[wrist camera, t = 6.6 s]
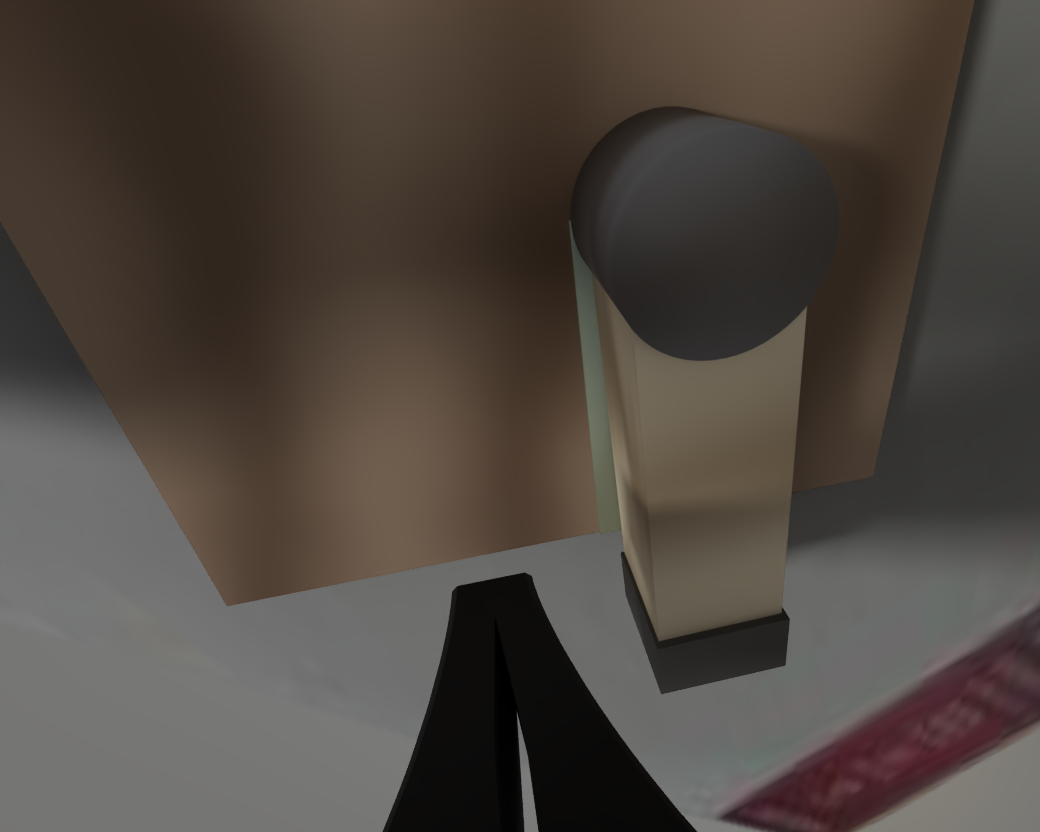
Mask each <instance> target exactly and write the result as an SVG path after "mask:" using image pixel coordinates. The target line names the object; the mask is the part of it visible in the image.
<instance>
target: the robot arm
mask: <svg viewBox="0 0 1040 832" xmlns="http://www.w3.org/2000/svg"><path fill="white" fill-rule="evenodd" d="M517 713H518V717H519V721H520V725H521V730H522V734H523V738H524V742H525V746H526V750H527V754H528V760H529V767H530V774H531V781H532V788H533V795H534V802H535V809H536V816H537V824H538V831H539V832H697V831H696V830H695V829H694V828H693V827H692V825H691V824H690V823H689V822H688V821H687V820H686V819H685V817H684V816H683V815H682V814H681V813H680V812H679V811H678V809H677V808H676V807H675V806H674V805H673V803H672V802H671V801H670V800H669V798H668V797H667V796H666V795H665V793H664V792H663V791H662V790H661V789H660V787H659V786H658V785H657V784H656V782H655V781H654V780H653V779H652V777H651V776H650V775H649V774H648V772H647V771H646V770H645V768H644V767H643V766H642V765H641V763H640V762H639V761H638V759H637V758H636V757H635V755H634V754H633V753H632V752H631V750H630V749H629V747H628V746H627V745H626V743H625V742H624V741H623V739H622V738H621V737H620V735H619V734H618V732H617V731H616V730H615V728H614V727H613V725H612V724H611V723H610V721H609V720H608V718H607V717H606V715H605V714H604V712H603V711H602V709H601V708H600V706H599V705H598V703H597V702H596V700H595V699H594V697H593V696H592V694H591V693H590V691H589V690H588V688H587V687H586V685H585V683H584V682H583V680H582V679H581V677H580V675H579V674H578V672H577V670H576V668H575V667H574V665H573V663H572V662H571V660H570V658H569V657H568V655H567V653H566V652H565V650H564V648H563V646H562V645H561V643H560V641H559V639H558V637H557V635H556V633H555V631H554V629H553V627H552V625H551V623H550V621H549V619H548V617H547V615H546V613H545V611H544V609H543V607H542V604H541V602H540V599H539V597H538V594H537V591H536V589H535V586H534V583H533V579H532V576H531V575H529V574H527V573H520V574H515V575H510V576H505V577H500V578H495V579H490V580H485V581H480V582H475V583H470V584H465V585H460V586H457V587H456V588H455V589H454V590H453V591H452V599H451V609H450V615H449V622H448V627H447V632H446V638H445V642H444V647H443V651H442V656H441V660H440V664H439V668H438V671H437V675H436V679H435V683H434V686H433V690H432V694H431V697H430V701H429V704H428V708H427V711H426V714H425V717H424V720H423V723H422V727H421V730H420V733H419V736H418V739H417V742H416V745H415V748H414V751H413V754H412V757H411V760H410V763H409V765H408V768H407V771H406V774H405V776H404V779H403V782H402V784H401V787H400V790H399V792H398V795H397V798H396V800H395V803H394V805H393V807H392V810H391V812H390V815H389V817H388V820H387V822H386V825H385V827H384V830H383V832H524V817H523V801H522V785H521V770H520V754H519V739H518V724H517Z"/></svg>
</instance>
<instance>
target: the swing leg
mask: <svg viewBox="0 0 1040 832" xmlns="http://www.w3.org/2000/svg"><path fill="white" fill-rule="evenodd" d="M571 227H572V232H573V237H574V241H575V243H576V246H577V249H578V251H579V253H580V255H581V257H582V259H583V260H584V262H585V263H586V265H587V266H588V267H589V269H590V270H591V272H592V278H593V287H594V295H595V304H596V313H597V321H598V330H599V338H600V347H601V356H602V364H603V373H604V381H605V390H606V399H607V407H608V416H609V424H610V433H611V442H612V450H613V459H614V467H615V476H616V485H617V493H618V502H619V510H620V519H621V528H622V536H623V545H624V552H621V558H622V567H623V575H624V583H625V592H626V597H627V600H628V603H629V606H630V608H631V611H632V614H633V617H634V620H635V622H636V625H637V628H638V631H639V633H640V636H641V639H642V642H643V645H644V647H645V650H646V653H647V656H648V658H649V661H650V664H651V667H652V670H653V672H654V675H655V678H656V681H657V684H658V686H659V689H660V692H661V694H664V693H669V692H673V691H677V690H682V689H686V688H690V687H695V686H699V685H703V684H708V683H712V682H716V681H721V680H725V679H729V678H734V677H738V676H742V675H747V674H751V673H755V672H760V671H764V670H768V669H773V668H777V667H781V666H785V664H786V653H787V643H788V632H789V622H790V619H789V617H788V615H787V614H786V612H785V611H784V609H783V607H782V601H783V589H784V577H785V565H786V553H787V541H788V529H789V517H790V505H791V493H792V481H793V469H794V457H795V445H796V433H797V421H798V409H799V397H800V385H801V373H802V361H803V349H804V337H805V325H806V313H807V305H808V304H809V303H810V301H811V300H812V298H813V297H814V296H815V294H816V293H817V291H818V290H819V288H820V286H821V284H822V282H823V280H824V279H825V277H826V275H827V272H828V270H829V267H830V265H831V263H832V260H833V256H834V253H835V249H836V245H837V239H838V233H839V209H838V201H837V197H836V192H835V188H834V186H833V184H832V181H831V179H830V176H829V174H828V173H827V171H826V169H825V168H824V166H823V165H822V163H821V162H820V161H819V160H818V159H817V157H816V156H815V155H814V154H813V153H812V152H811V151H810V150H808V149H807V148H806V147H805V146H803V145H802V144H801V143H799V142H797V141H795V140H793V139H791V138H789V137H787V136H784V135H781V134H778V133H775V132H772V131H768V130H765V129H761V128H758V127H754V126H751V125H748V124H744V123H741V122H737V121H734V120H730V119H727V118H723V117H720V116H716V115H713V114H709V113H706V112H702V111H699V110H695V109H692V108H686V107H680V106H666V107H659V108H653V109H650V110H646V111H643V112H640V113H638V114H636V115H633V116H631V117H629V118H628V119H626V120H624V121H623V122H621V123H619V124H618V125H617V126H615V127H614V128H613V129H612V130H610V131H609V132H608V133H607V134H606V135H605V136H604V137H603V138H602V139H601V140H600V141H599V142H598V143H597V145H596V146H595V147H594V149H593V150H592V151H591V152H590V154H589V156H588V157H587V159H586V161H585V162H584V164H583V166H582V168H581V170H580V173H579V175H578V177H577V180H576V183H575V187H574V190H573V196H572V201H571Z"/></svg>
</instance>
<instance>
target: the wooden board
mask: <svg viewBox="0 0 1040 832" xmlns="http://www.w3.org/2000/svg"><path fill="white" fill-rule="evenodd" d="M974 2H975V0H0V223H1V224H2V226H3V228H4V229H5V231H6V233H7V234H8V236H9V238H10V240H11V241H12V243H13V245H14V246H15V248H16V250H17V251H18V253H19V255H20V256H21V258H22V260H23V262H24V263H25V265H26V267H27V268H28V270H29V272H30V273H31V275H32V277H33V278H34V280H35V282H36V284H37V285H38V287H39V289H40V290H41V292H42V294H43V295H44V297H45V299H46V300H47V302H48V304H49V306H50V307H51V309H52V311H53V312H54V314H55V316H56V317H57V319H58V321H59V322H60V324H61V326H62V328H63V329H64V331H65V333H66V334H67V336H68V338H69V339H70V341H71V343H72V344H73V346H74V348H75V350H76V351H77V353H78V355H79V356H80V358H81V360H82V361H83V363H84V365H85V366H86V368H87V370H88V372H89V373H90V375H91V377H92V378H93V380H94V382H95V383H96V385H97V387H98V388H99V390H100V392H101V394H102V395H103V397H104V399H105V400H106V402H107V404H108V405H109V407H110V409H111V410H112V412H113V414H114V416H115V417H116V419H117V421H118V422H119V424H120V426H121V427H122V429H123V431H124V432H125V434H126V436H127V438H128V439H129V441H130V443H131V444H132V446H133V448H134V449H135V451H136V453H137V454H138V456H139V458H140V459H141V461H142V463H143V465H144V466H145V468H146V470H147V471H148V473H149V475H150V476H151V478H152V480H153V481H154V483H155V485H156V487H157V488H158V490H159V492H160V493H161V495H162V497H163V498H164V500H165V502H166V503H167V505H168V507H169V509H170V510H171V512H172V514H173V515H174V517H175V519H176V520H177V522H178V524H179V525H180V527H181V529H182V531H183V532H184V534H185V536H186V537H187V539H188V541H189V542H190V544H191V546H192V547H193V549H194V551H195V553H196V554H197V556H198V558H199V559H200V561H201V563H202V564H203V566H204V568H205V569H206V571H207V573H208V575H209V576H210V578H211V580H212V581H213V583H214V585H215V586H216V588H217V590H218V591H219V593H220V595H221V597H222V598H223V600H224V602H225V603H226V605H227V606H230V605H235V604H240V603H245V602H250V601H255V600H260V599H265V598H270V597H275V596H280V595H285V594H290V593H295V592H300V591H305V590H310V589H315V588H320V587H325V586H330V585H335V584H340V583H345V582H350V581H355V580H360V579H365V578H370V577H375V576H380V575H385V574H390V573H395V572H400V571H405V570H410V569H415V568H420V567H425V566H430V565H435V564H440V563H445V562H450V561H455V560H460V559H465V558H470V557H475V556H480V555H485V554H490V553H495V552H500V551H505V550H510V549H515V548H520V547H525V546H530V545H535V544H540V543H545V542H550V541H555V540H560V539H565V538H570V537H575V536H580V535H585V534H590V533H595V532H600V534H603V533H608V532H613V531H618V530H622V528H621V519H620V510H619V502H618V493H617V485H616V476H615V467H614V459H613V450H612V442H611V433H610V424H609V416H608V407H607V399H606V390H605V381H604V373H603V364H602V356H601V347H600V338H599V330H598V321H597V313H596V304H595V295H594V287H593V278H592V272H591V270H590V269H589V267H588V266H587V265H586V263H585V262H584V260H583V259H582V257H581V255H580V253H579V251H578V249H577V246H576V243H575V241H574V237H573V232H572V227H571V201H572V196H573V190H574V187H575V183H576V180H577V177H578V175H579V173H580V170H581V168H582V166H583V164H584V162H585V161H586V159H587V157H588V156H589V154H590V152H591V151H592V150H593V149H594V147H595V146H596V145H597V143H598V142H599V141H600V140H601V139H602V138H603V137H604V136H605V135H606V134H607V133H608V132H609V131H610V130H612V129H613V128H614V127H615V126H617V125H618V124H619V123H621V122H623V121H624V120H626V119H628V118H629V117H631V116H633V115H636V114H638V113H640V112H643V111H646V110H650V109H653V108H659V107H666V106H680V107H686V108H692V109H695V110H699V111H702V112H706V113H709V114H713V115H716V116H720V117H723V118H727V119H730V120H734V121H737V122H741V123H744V124H748V125H751V126H754V127H758V128H761V129H765V130H768V131H772V132H775V133H778V134H781V135H784V136H787V137H789V138H791V139H793V140H795V141H797V142H799V143H801V144H802V145H803V146H805V147H806V148H807V149H808V150H810V151H811V152H812V153H813V154H814V155H815V156H816V157H817V159H818V160H819V161H820V162H821V163H822V165H823V166H824V168H825V169H826V171H827V173H828V174H829V176H830V179H831V181H832V184H833V186H834V188H835V192H836V197H837V201H838V209H839V233H838V239H837V245H836V249H835V253H834V256H833V260H832V263H831V265H830V267H829V270H828V272H827V275H826V277H825V279H824V280H823V282H822V284H821V286H820V288H819V290H818V291H817V293H816V294H815V296H814V297H813V298H812V300H811V301H810V303H809V304H808V305H807V313H806V325H805V337H804V349H803V361H802V373H801V385H800V397H799V409H798V421H797V433H796V445H795V457H794V469H793V481H792V493H795V492H800V491H805V490H810V489H815V488H820V487H825V486H830V485H835V484H840V483H845V482H850V481H855V480H860V479H865V478H870V477H873V476H874V471H875V466H876V461H877V457H878V452H879V447H880V443H881V438H882V433H883V429H884V424H885V419H886V415H887V410H888V405H889V400H890V396H891V391H892V386H893V382H894V377H895V372H896V368H897V363H898V358H899V354H900V349H901V344H902V339H903V335H904V330H905V325H906V321H907V316H908V311H909V307H910V302H911V297H912V293H913V288H914V283H915V279H916V274H917V269H918V264H919V260H920V255H921V250H922V246H923V241H924V236H925V232H926V227H927V222H928V218H929V213H930V208H931V203H932V199H933V194H934V189H935V185H936V180H937V175H938V171H939V166H940V161H941V157H942V152H943V147H944V142H945V138H946V133H947V128H948V124H949V119H950V114H951V110H952V105H953V100H954V96H955V91H956V86H957V81H958V77H959V72H960V67H961V63H962V58H963V53H964V49H965V44H966V39H967V35H968V30H969V25H970V20H971V16H972V11H973V6H974Z"/></svg>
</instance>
